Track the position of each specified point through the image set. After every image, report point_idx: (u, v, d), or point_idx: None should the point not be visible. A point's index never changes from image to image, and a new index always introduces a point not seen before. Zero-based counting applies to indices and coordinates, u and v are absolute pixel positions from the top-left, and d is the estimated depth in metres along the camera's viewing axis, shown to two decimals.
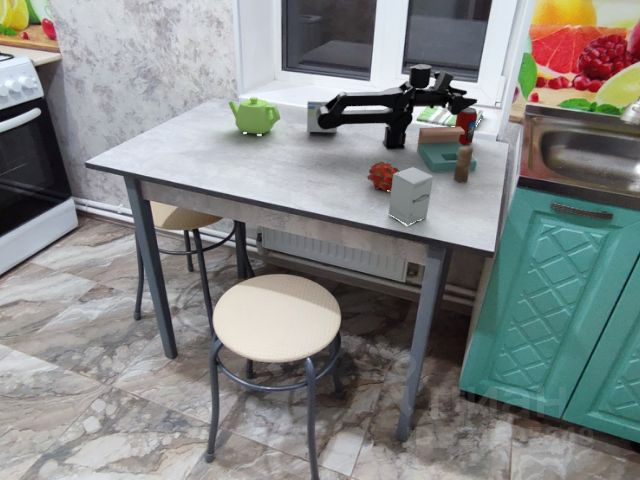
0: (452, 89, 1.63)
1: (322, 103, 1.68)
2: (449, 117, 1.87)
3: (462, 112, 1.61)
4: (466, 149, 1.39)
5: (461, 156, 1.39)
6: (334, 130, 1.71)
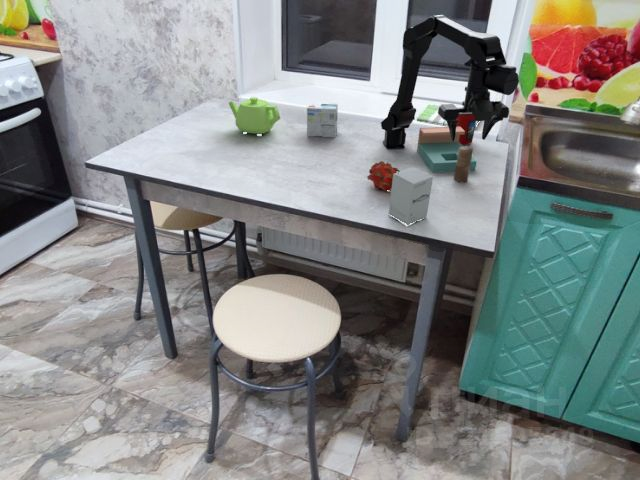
0: (489, 124, 1.35)
1: (322, 110, 1.67)
2: None
3: None
4: (466, 149, 1.39)
5: (461, 156, 1.39)
6: (334, 135, 1.72)
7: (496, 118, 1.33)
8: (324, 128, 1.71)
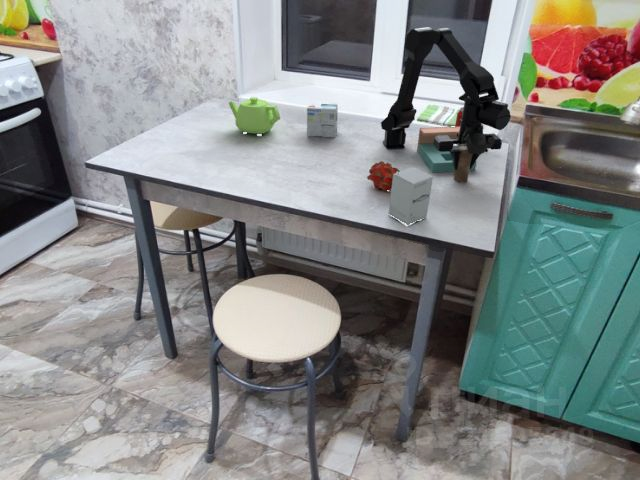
0: (474, 154, 1.40)
1: (322, 110, 1.67)
2: (449, 117, 1.87)
3: (462, 112, 1.61)
4: (466, 149, 1.39)
5: (461, 156, 1.39)
6: (334, 135, 1.72)
7: None
8: (324, 128, 1.71)
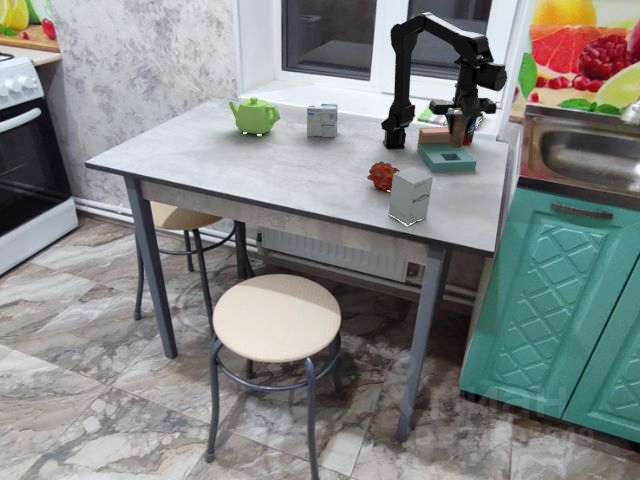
0: (469, 119, 1.41)
1: (322, 110, 1.67)
2: None
3: None
4: (461, 114, 1.41)
5: (456, 120, 1.41)
6: (334, 135, 1.72)
7: None
8: (324, 128, 1.71)
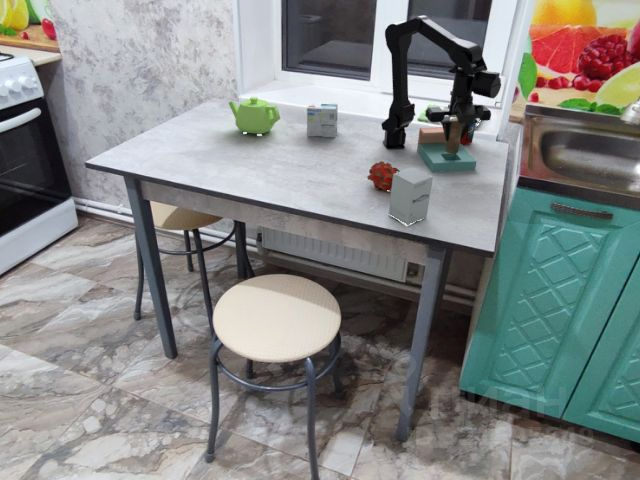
0: (465, 126, 1.45)
1: (322, 110, 1.67)
2: (450, 117, 1.87)
3: None
4: (457, 120, 1.45)
5: (452, 127, 1.45)
6: (334, 135, 1.72)
7: None
8: (324, 128, 1.71)
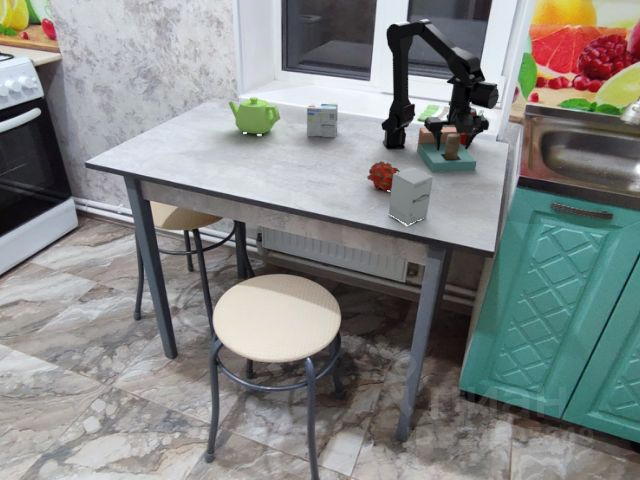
0: (471, 135, 1.47)
1: (322, 110, 1.67)
2: None
3: None
4: (454, 136, 1.47)
5: (449, 142, 1.48)
6: (334, 135, 1.72)
7: (477, 130, 1.45)
8: (324, 128, 1.71)
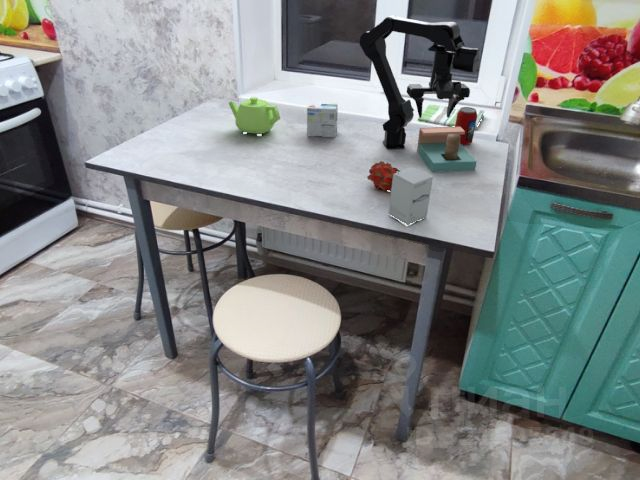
0: (452, 103, 1.50)
1: (322, 110, 1.67)
2: (450, 117, 1.87)
3: (462, 112, 1.61)
4: (454, 136, 1.47)
5: (449, 142, 1.48)
6: (334, 135, 1.72)
7: (458, 97, 1.48)
8: (324, 128, 1.71)
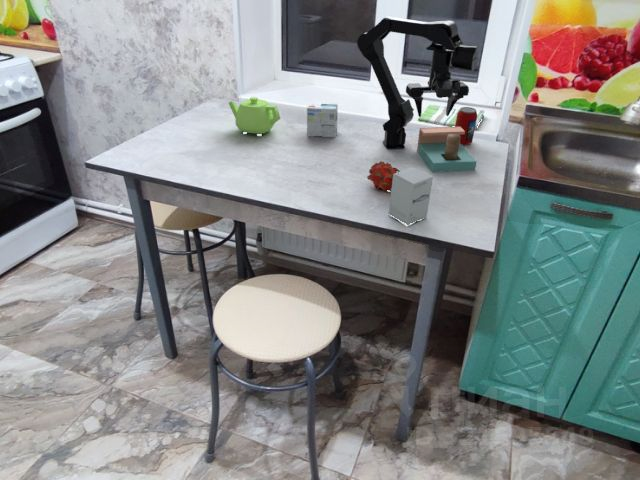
0: (451, 101, 1.50)
1: (322, 110, 1.67)
2: (450, 117, 1.87)
3: (462, 112, 1.61)
4: (454, 136, 1.47)
5: (449, 142, 1.48)
6: (334, 135, 1.72)
7: (457, 96, 1.49)
8: (324, 128, 1.71)
